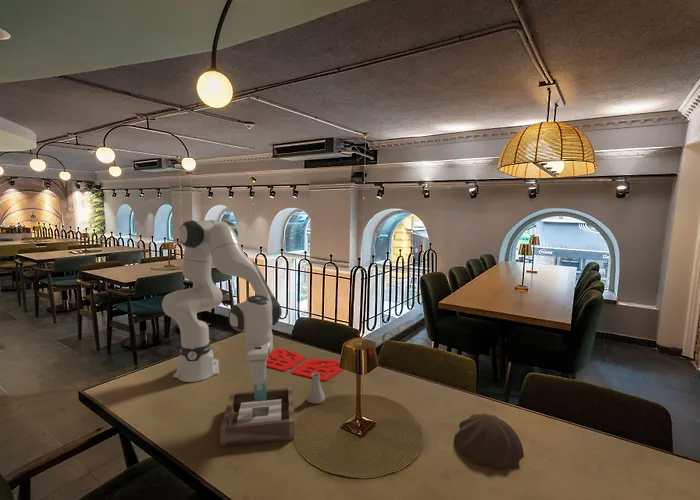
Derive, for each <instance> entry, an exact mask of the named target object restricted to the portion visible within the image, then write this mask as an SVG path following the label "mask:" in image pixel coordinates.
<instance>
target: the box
mask: <svg viewBox="0 0 700 500" xmlns="http://www.w3.org/2000/svg"><path fill="white" fill-rule="evenodd" d="M293 393H294V392H293V387H287V388H286V387H284V388H273V389H272V388H271V389H267V399H266V400H264V401H260V402H258V401H255V400H254V390H247V391H239V392H237V391H236V392H230V395H229V398H228V400H227V405H226V408H225V411H224V415H223V419H222V420H221V425H220V426H219V433H220V434H219V435H220V437H219V440H220V441H219V443H220V448H231V447H240V446H241V447H242V446H248V445H257V444H267V443H274V442H283V441H284V442H286V441H292V440H295V416H294V415H295V412H294V398H293V397H294V396H293Z"/></svg>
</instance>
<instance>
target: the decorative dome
mask: <svg viewBox="0 0 700 500" xmlns="http://www.w3.org/2000/svg"><path fill="white" fill-rule="evenodd" d="M458 426H459V430H458V431H457V432H456V433H455V435H454V437H453V439H454V442H456V444H457V452H458V453H460V454H462V455H463V456H465V457H467V458H468V459H469V460H470V462H472V463H473V464H474V465H477V466H486V467H488V468H491V469H494V470H495V471H501V470H503V469H506V468H515V469H517V468H518V467H519V463H520V460H522V459H523V458H524V457H525V455H524V449H523V444H522V442H521V439H520V438H519V435H518V434H517V432H516V431H515V430H514V429H513V428H512V426H511V425H510V424H508V423H507V422H506V421H505V420H502V419H501V418H499V417H497V415H493V414H492V415H491V414H487V413H479V414H478V413H477V414H476V413H475V414H472V415H470V417H468V418H466V419H464V420H461V422H459V425H458Z"/></svg>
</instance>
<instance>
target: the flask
mask: <svg viewBox="0 0 700 500" xmlns="http://www.w3.org/2000/svg"><path fill="white" fill-rule="evenodd" d="M320 376H321V375H320V373H313V374H312V377H313V379H312V381H311V386H310V389H309V392H308V394H307V396H306V397H307V398H306V402H307V403H310V404H313V405H315V404H317V405H318V404H322V403H324V402H325V401H326V395H325V394H324V390H323V388H322V384H321V381H320V380H319V377H320Z"/></svg>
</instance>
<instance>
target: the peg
mask: <svg viewBox="0 0 700 500" xmlns="http://www.w3.org/2000/svg"><path fill="white" fill-rule="evenodd" d="M253 386H254V387H253V391H254V400H255V401H258V402H260V401H264V400H266V399H267V390H268V389H267V368H266V369H265V379H264V383H263V384H262V386H263V387H262V390H257V385H253Z"/></svg>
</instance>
